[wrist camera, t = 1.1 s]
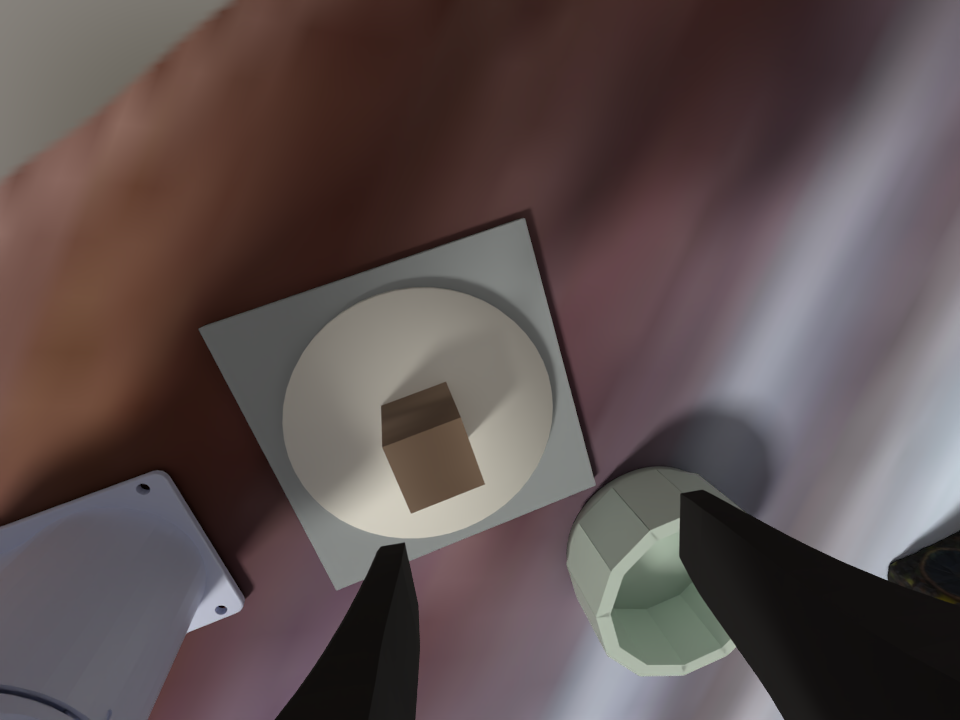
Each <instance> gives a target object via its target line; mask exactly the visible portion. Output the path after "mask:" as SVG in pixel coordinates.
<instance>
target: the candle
mask: <svg viewBox="0 0 960 720" xmlns="http://www.w3.org/2000/svg"><path fill="white" fill-rule="evenodd" d="M888 581H890V582H893V583H895V584H898V585H901V586H903V587H906V588H909V589H912V590H914V591H917V592H920V593H923V594H926V595H929V596H932V597H934V598H937V599H940V600H943V601H946V602H949V603H952V604H956V605H959V606H960V531H959V532H957V533H955V534H953V535H951V536H949V537H947V538H946V539H944V540H942V541H940V542H938V543H936V544H934V545H932V546H930V547H927V548H923V549H922V550H921V551H919V552H918V553H917V554H913V555H911V556H908V557H906V558H903V559H901V560H898V561H896V562H894V563H893V564H891V565H890V568H889V574H888Z"/></svg>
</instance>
